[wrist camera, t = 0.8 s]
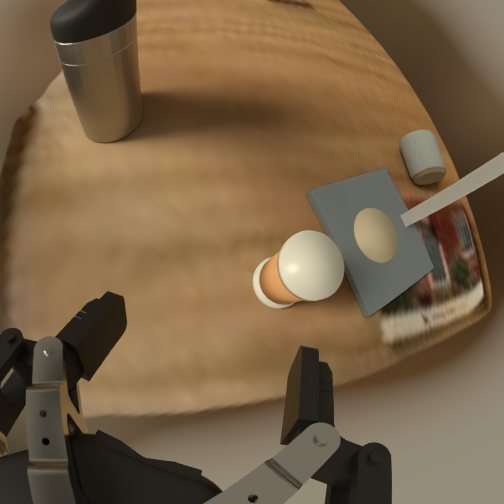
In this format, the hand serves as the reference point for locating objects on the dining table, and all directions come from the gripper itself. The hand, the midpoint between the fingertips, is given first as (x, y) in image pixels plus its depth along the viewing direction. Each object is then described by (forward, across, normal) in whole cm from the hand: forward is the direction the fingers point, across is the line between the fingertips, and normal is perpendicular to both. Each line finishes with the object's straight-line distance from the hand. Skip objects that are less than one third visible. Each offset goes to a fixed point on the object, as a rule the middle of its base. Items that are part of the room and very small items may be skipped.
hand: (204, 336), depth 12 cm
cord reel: (+20, -4, +9) cm, 22 cm away
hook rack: (+29, -16, +3) cm, 34 cm away
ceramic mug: (+43, -25, -8) cm, 51 cm away
